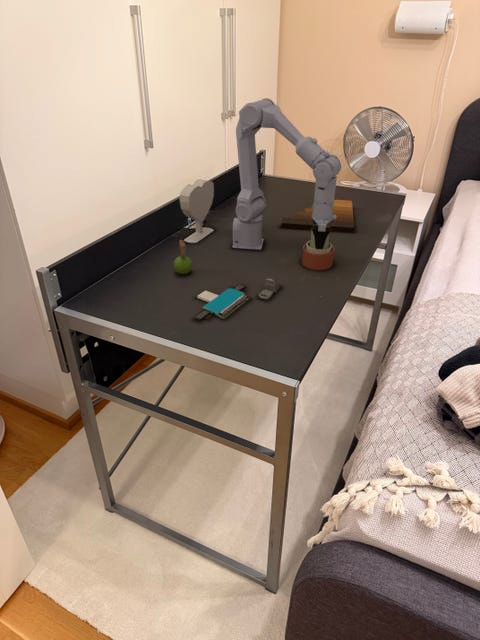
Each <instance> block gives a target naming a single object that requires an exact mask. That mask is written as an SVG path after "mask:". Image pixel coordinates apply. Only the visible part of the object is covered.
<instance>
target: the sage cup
mask: <svg viewBox="0 0 480 640" xmlns="http://www.w3.org/2000/svg"><path fill="white" fill-rule="evenodd" d="M314 226H318V225H317V224H315V225H314ZM326 227H328V228H330V227H329V226H328V225H326ZM330 236H331V232H330V233H329V235H328V236H327V239H326V241H325V245H324V247H323V249H327V248H328V246H329V242H330ZM309 241H310V247H311V248H314V249H316V248H315V238H314V234H313V232H312V228H311V230H310V240H309ZM321 250H322V249H321Z"/></svg>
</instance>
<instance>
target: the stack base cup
mask: <svg viewBox="0 0 480 640" xmlns="http://www.w3.org/2000/svg"><path fill="white" fill-rule="evenodd" d="M335 249H336V248H335V246H333V245H332V250H331V253H329V254H313V253H310V252H308V251H306V243H304V244H303V246H302V253H301V255H302V256H301V264H302V266H304V267H305V268H307V269H309V270H314V271H326V270H328V269H330V268H332V267H333V265H334V258H335V251H336V250H335Z"/></svg>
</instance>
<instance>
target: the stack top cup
mask: <svg viewBox="0 0 480 640" xmlns="http://www.w3.org/2000/svg"><path fill="white" fill-rule="evenodd" d="M305 244H306V251H308V252H310V253H313V254H329V253H331V250H332V246H333V244H332V243H331V242H330V241H329V246H328V248H327V249H322V250H321V249H314V248H311V247H310V240H308V241H307V242H306V243H305Z"/></svg>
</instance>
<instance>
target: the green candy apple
mask: <svg viewBox="0 0 480 640" xmlns="http://www.w3.org/2000/svg"><path fill="white" fill-rule="evenodd" d="M178 247H179V256H177V257H176V258H175V260H174V262H173V268H174V270H175V272H177V273H178V274H180V275H187V274H189V273H190V272H191V271H192V270H193V261H192V259H191V258H190V257H189V256H187V254H186V253H187V250H186V241H185V240H184V239H179V241H178Z"/></svg>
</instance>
